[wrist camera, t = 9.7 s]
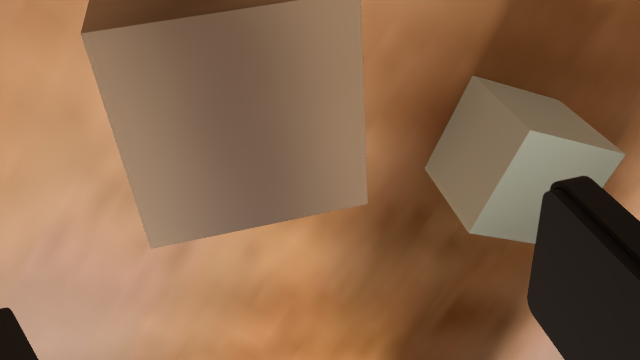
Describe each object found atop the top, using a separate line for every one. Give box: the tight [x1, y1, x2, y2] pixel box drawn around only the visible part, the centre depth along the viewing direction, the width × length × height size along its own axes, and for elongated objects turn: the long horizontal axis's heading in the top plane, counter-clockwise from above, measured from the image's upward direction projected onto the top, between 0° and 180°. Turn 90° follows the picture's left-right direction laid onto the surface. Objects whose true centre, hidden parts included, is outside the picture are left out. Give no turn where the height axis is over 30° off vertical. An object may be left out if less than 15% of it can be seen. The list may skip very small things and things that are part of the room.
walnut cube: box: [81, 0, 368, 249], centre depth 17 cm, size 6×6×6 cm
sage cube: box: [424, 76, 626, 244], centre depth 31 cm, size 6×6×6 cm
